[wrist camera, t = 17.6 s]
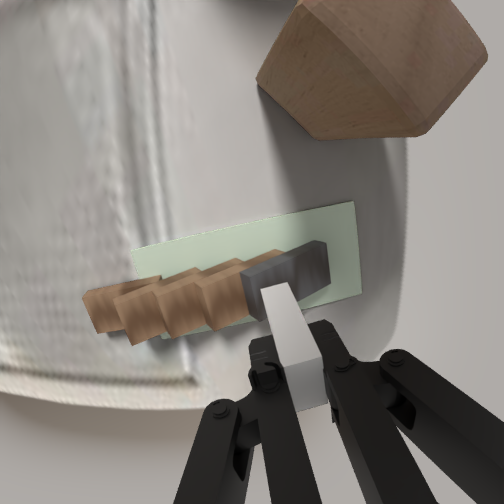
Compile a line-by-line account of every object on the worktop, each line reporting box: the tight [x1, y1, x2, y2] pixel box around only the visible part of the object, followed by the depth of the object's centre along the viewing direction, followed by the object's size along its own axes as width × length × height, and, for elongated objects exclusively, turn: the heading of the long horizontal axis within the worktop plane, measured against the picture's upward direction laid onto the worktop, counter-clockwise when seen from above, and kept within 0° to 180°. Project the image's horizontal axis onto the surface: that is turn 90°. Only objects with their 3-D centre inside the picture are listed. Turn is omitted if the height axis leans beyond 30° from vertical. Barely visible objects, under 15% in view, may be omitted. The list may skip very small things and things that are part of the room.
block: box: [256, 0, 488, 141], centre depth 21 cm, size 10×10×20 cm
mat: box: [130, 201, 362, 339], centre depth 37 cm, size 12×26×1 cm, turn 101°
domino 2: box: [152, 258, 244, 339], centre depth 33 cm, size 5×2×10 cm
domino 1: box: [113, 267, 201, 346], centre depth 33 cm, size 5×2×10 cm
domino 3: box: [194, 249, 285, 331], centre depth 33 cm, size 5×2×10 cm
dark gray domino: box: [239, 240, 331, 322], centre depth 34 cm, size 5×2×10 cm
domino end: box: [82, 275, 163, 334], centre depth 35 cm, size 5×2×10 cm
